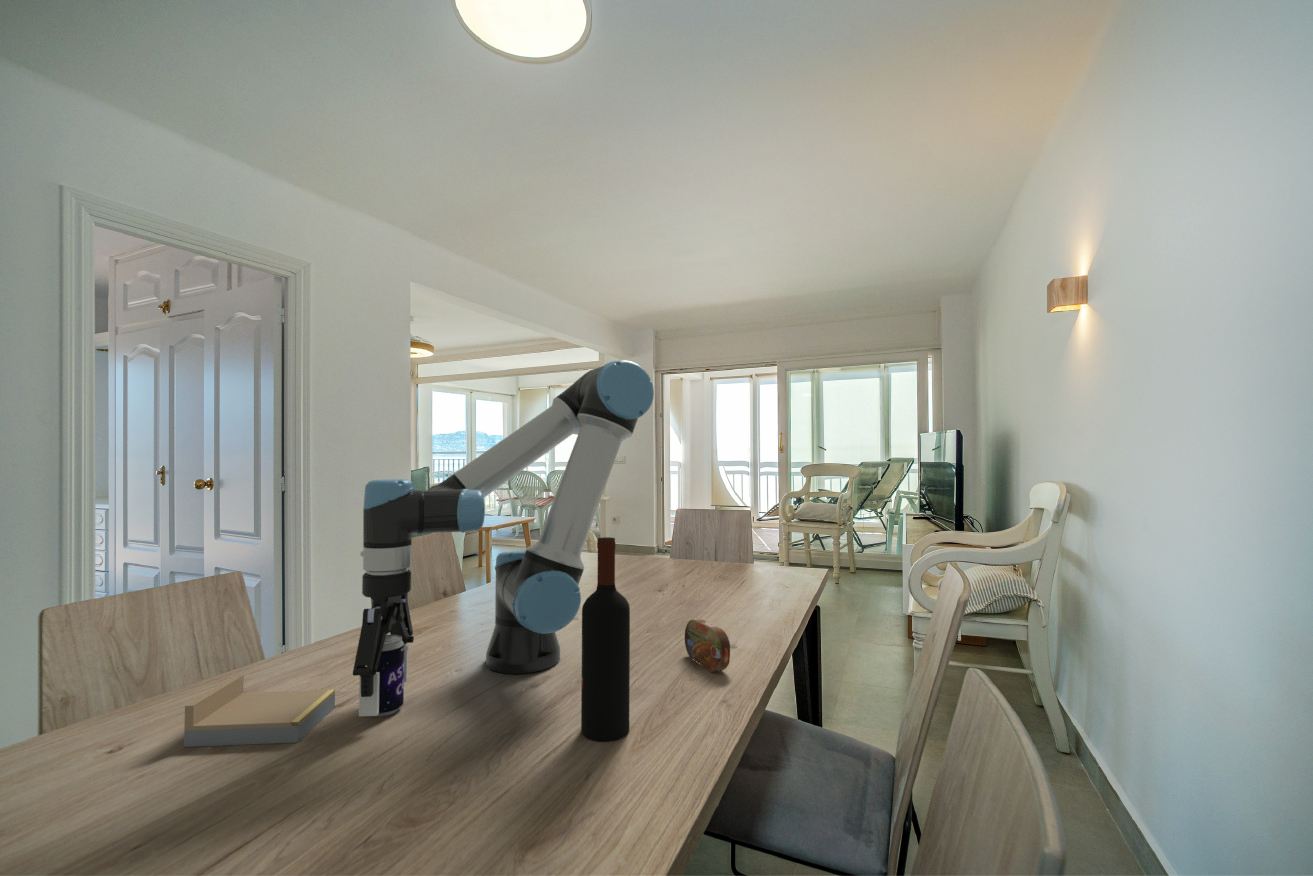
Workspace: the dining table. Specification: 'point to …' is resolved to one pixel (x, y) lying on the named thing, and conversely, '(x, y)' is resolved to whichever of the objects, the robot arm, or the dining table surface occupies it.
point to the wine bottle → (605, 654)
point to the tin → (707, 645)
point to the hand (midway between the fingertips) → (385, 697)
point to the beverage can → (391, 675)
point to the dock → (253, 715)
